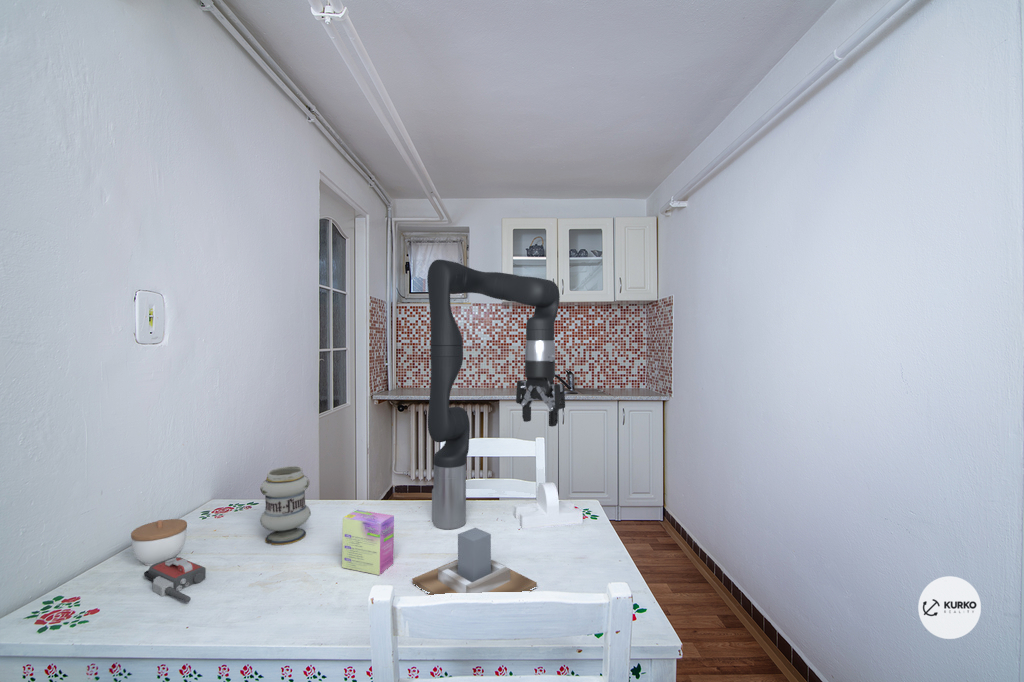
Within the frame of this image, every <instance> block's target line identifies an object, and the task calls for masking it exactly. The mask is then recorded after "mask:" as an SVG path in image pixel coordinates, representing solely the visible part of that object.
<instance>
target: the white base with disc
mask: <svg viewBox="0 0 1024 682" xmlns="http://www.w3.org/2000/svg"><path fill="white" fill-rule="evenodd" d="M559 499H560V498H559V493H558V488H557V486H556V484H555V483H554V482H552V481H551V482H540V483H538V486H537V490H536V502H533V503H520V504H519V503H518V504H517V503H516V504H514V513H513V514H514V515H513V516H514V519H515V520H519V527H520V526H521V527H520V528H521V530H528V529H529V528H531V529H540V528H541V527H542V528H550V527H551V528H552V527H562V526H570V525H571V526H572V525H582V524H583V522H584V521H583V519H584V517H583V515H584V514H583V512H584V511H583V510H582V509H580V508H579V507H577V508H576V507H575V506H576V505H575V503H574V502H573V500H571V499H569V500H559Z"/></svg>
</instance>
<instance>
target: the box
mask: <svg viewBox="0 0 1024 682" xmlns="http://www.w3.org/2000/svg"><path fill="white" fill-rule="evenodd" d="M341 529H342V530H341V531H342V538H341V539H342V540H341V542H342V543H341V545H342V547H341V560H342V561H341V563H342V564H341V568H343V569H348V570H353V571H359V572H362V573H368V574H372V575H376V576H381V575H382V574H383V573H385V572H386V571H387V570H389V569H390V568H391V567H392V566H393V565H394V546H395V545H394V539H395V538H394V537H395V533H394V532H395V515H392V514H385V513H380V512H375V511H374V512H373V511H368V510H363V509H362V510H361V509H357V510H353V511H352V512H350V513H349V514H347V515H344V516H343V517H342V528H341ZM392 564H393V565H392ZM391 565H392V566H391ZM390 566H391V567H390ZM389 567H390V568H389ZM388 568H389V569H388ZM386 569H387V570H386ZM385 570H386V571H385ZM384 571H385V572H384ZM380 574H381V575H380Z"/></svg>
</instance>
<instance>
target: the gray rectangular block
mask: <svg viewBox="0 0 1024 682" xmlns="http://www.w3.org/2000/svg"><path fill="white" fill-rule="evenodd" d="M491 548H492V534H491V533H490V532H487V531H485V530H482V529H480V528H478V527H473V528H471V529H468V530H465V531H463V532H460V533H457V560H458V575H460V576H461V577H463V578H465V579H466V580H468V581H470V582H474V581H476V580H478V579H480V578H483V577H485V576H487V575H489V574H491V560H492V558H491V557H492V549H491Z"/></svg>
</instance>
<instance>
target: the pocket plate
mask: <svg viewBox="0 0 1024 682" xmlns="http://www.w3.org/2000/svg"><path fill="white" fill-rule="evenodd" d="M411 580H412V583H413V584H415V585H417V586H418V587H419V588H421V589H423V590H425V591H427V592H430V593H429V594H427V595H428V596H429V595H434V594H445V593H482V592H522V591H531V592H532V591H533V590H530V589H532V588H534V587H536V586H537V585H538V583H537V581H535V580H532V579H530V578H528V577H527V576H524V575H523V574H521V573H518V572H516V571H515V570H513V569H510V568H509V567H507V566H505V565H503V564H501V563H499V562H497V561H495V560H494V559H491V574H489V575H487V576H485V577H483V578H480V579H478V580H476V581H474V582H470V581H468V580H466V579H465V578H463V577H461V576H460V575H458V559H456V560H454V561H451V562H449V563H446V564H444V565H441V566H438V567H436V568H433V569H432V570H429V571H427V572H424V573H422V574H420V575H418V576H415V577H412V579H411ZM413 584H412V585H413ZM415 585H414V586H415ZM418 587H417V588H418ZM537 587H538V586H537ZM419 588H418V589H419ZM421 589H420V590H421Z"/></svg>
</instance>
